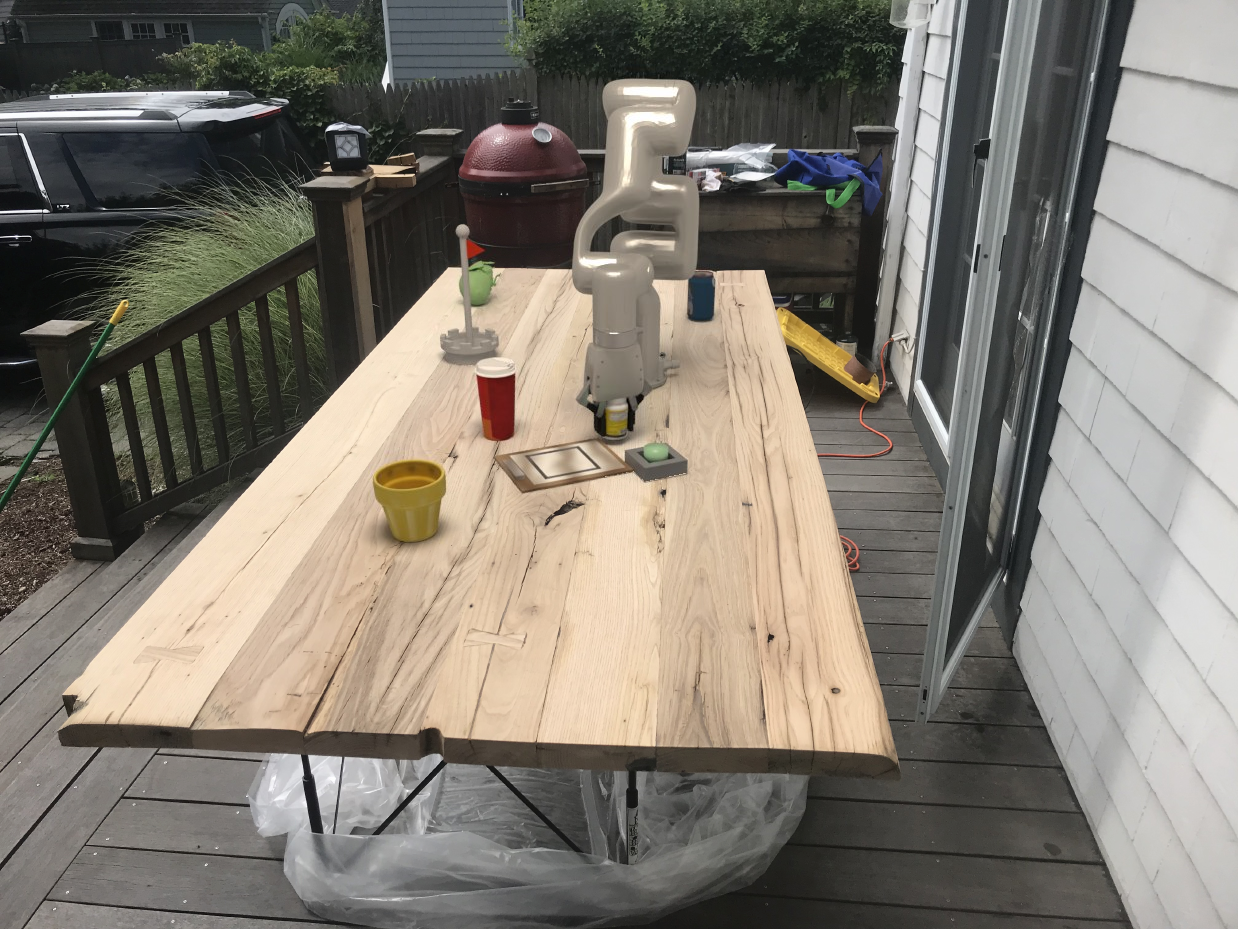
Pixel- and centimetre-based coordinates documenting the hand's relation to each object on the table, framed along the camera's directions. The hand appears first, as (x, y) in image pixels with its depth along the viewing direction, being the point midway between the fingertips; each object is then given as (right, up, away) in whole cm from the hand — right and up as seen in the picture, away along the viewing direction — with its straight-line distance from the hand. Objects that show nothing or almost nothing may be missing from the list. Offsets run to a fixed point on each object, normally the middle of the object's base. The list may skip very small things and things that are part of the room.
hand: (614, 430), depth 173 cm
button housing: (+7, -7, -10) cm, 14 cm away
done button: (+7, -6, -10) cm, 14 cm away
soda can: (+22, +31, +72) cm, 82 cm away
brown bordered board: (-9, -6, -9) cm, 14 cm away
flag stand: (-33, +18, +43) cm, 57 cm away
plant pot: (-30, -16, -30) cm, 46 cm away
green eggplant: (-36, +37, +85) cm, 99 cm away
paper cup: (-21, -1, +3) cm, 22 cm away
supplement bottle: (0, -1, +1) cm, 1 cm away
